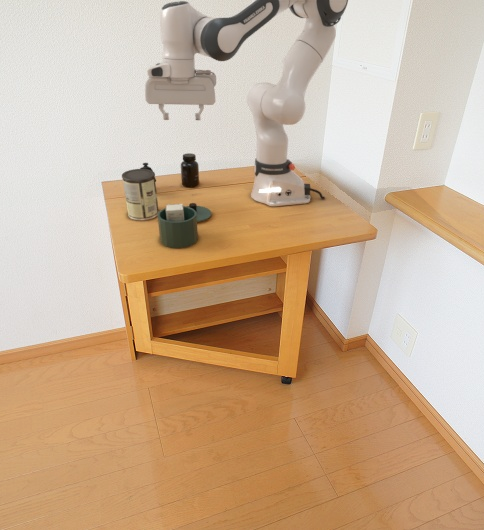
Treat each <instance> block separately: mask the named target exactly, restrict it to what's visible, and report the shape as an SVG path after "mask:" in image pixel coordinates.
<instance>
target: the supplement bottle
mask: <svg viewBox="0 0 484 530" xmlns="http://www.w3.org/2000/svg"><path fill="white" fill-rule="evenodd" d="M199 167H200V166H199V163H198V162H197V158H196V154H195V153H189V152H187V153H183V154H182V162H181V163H180V176H181V186H182V187H185V188H188V189H189V188H190V189H192V188H197V187H198V186H199V185H200V168H199Z"/></svg>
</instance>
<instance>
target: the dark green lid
mask: <svg viewBox="0 0 484 530" xmlns="http://www.w3.org/2000/svg"><path fill="white" fill-rule="evenodd" d="M185 207H190V208H192V209H194V210H195V211H196V212H197V223H201V222H204V221H207V220H209V219H210V218H211V217H212V211H211V210H210V208H207V207H205V206H201V205H197V203H195V202H191V203H188V205H187V206H185Z"/></svg>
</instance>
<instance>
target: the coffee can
mask: <svg viewBox="0 0 484 530" xmlns="http://www.w3.org/2000/svg"><path fill="white" fill-rule="evenodd" d="M121 179H122V184H123V190H124V196H125V203H126V204H125V205H126V209H127V210H126V211H127V216H128V218H129V219H131V220H134V221H149V220H153V219H155V218H156V217H158V212H160V210H159V204H158V195H157V185H156V182H155V179H156V172H155V171H154V170H153V171H151V170H148V169H140V168H134V169H129V170H126V171H124V172H123V173H122V174H121Z"/></svg>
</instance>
